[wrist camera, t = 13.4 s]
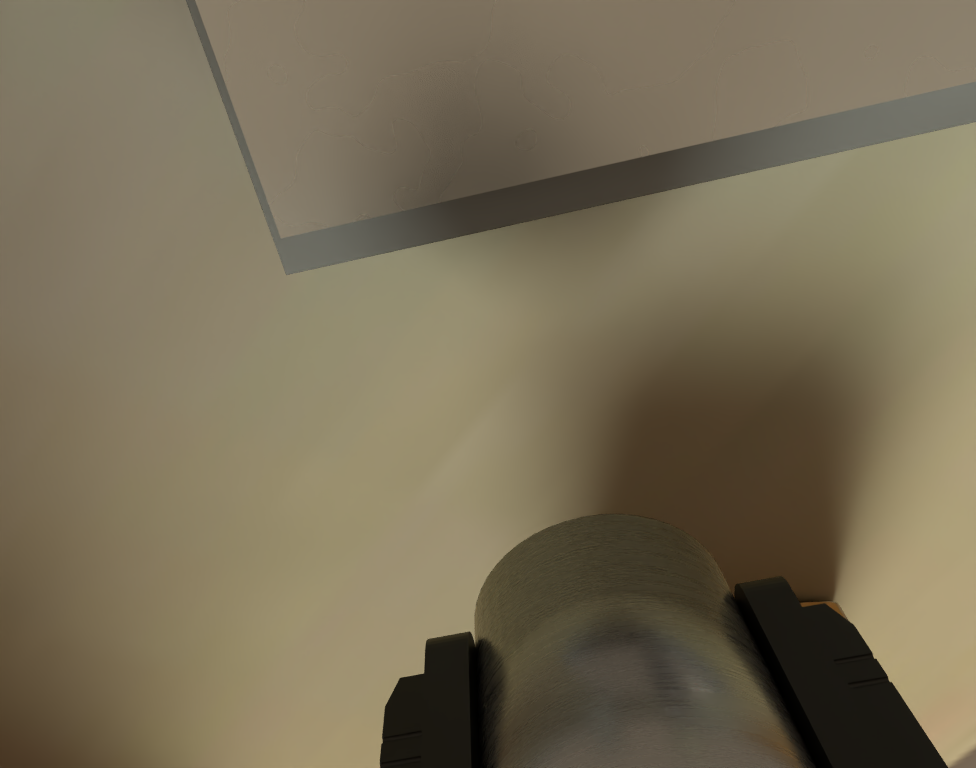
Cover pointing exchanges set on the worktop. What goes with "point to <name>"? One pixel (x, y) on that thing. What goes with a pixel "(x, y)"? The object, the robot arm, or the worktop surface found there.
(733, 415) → the worktop surface
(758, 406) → the worktop surface
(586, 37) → the shower mixer plate
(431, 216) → the scale
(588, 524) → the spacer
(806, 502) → the worktop surface
